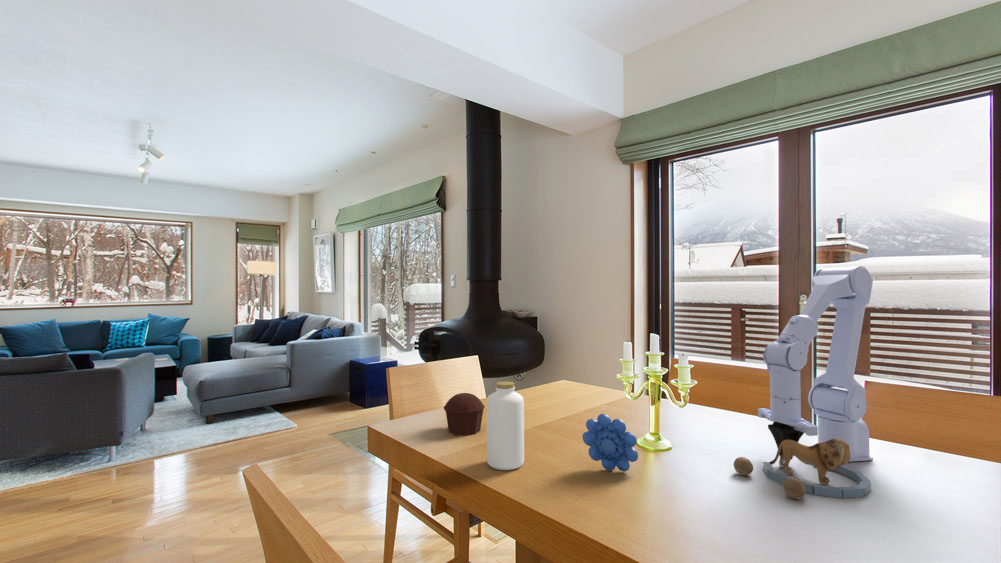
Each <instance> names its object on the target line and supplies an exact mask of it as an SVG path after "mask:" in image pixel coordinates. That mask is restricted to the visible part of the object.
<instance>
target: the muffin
mask: <svg viewBox="0 0 1001 563" xmlns="http://www.w3.org/2000/svg"><path fill="white" fill-rule="evenodd" d="M485 408H486V406H485V405H484V403H483V402H482V400H481V399H480V398H479V397H478V396H476V395H475V394H473V393H468V392H461V393H456V394H455V395H452V397H451V398H449V399H448V400H447V402H446V403H445V405H444V406H443V410H444V411H445V416H446V423H447V429H448V433H449V434H450V433H451V435H453V436H462V435H463V436H465V437H466V436H471V435H472V434H473V435H476V434H478V433H480V432H481V427H482V423H483V422H482V421H483V414H484V409H485ZM479 431H480V432H479ZM477 432H478V433H477Z"/></svg>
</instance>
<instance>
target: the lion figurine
mask: <svg viewBox="0 0 1001 563" xmlns="http://www.w3.org/2000/svg"><path fill="white" fill-rule="evenodd" d="M781 450H783V455H781V456H780V452H781ZM776 451H777V452H776V455H775V457H774V459H773V460H770V461H769V462H770V464H771V465H774V464H776V462H777V461H778V459H779V461H778V464H779V466H780V467H781V468H784V469H785V473H786V475H788V476H789V475H790V476H794V472H793V471H792V470H791V469H790V467H789V466H790V462H791V460H792V459H793V458H794V457H795V458H797V459H798V461H800V462H801V463H803V464H805V465H808V466H813V467H815V466H816V467H815V468H816V469H817V474H818V482H819V483H820V485H824V486H829V485H828V484H829V483H828V482H829V481H831V480H830V478H829V477H827V471H831V470H836V469H837V468H838V467H840V466H842V465H844V466H847V464H849V463H850V462H849V460H850V458H851V456H850V451H849V444H846V442H844V441H843V440H841V439H837V438H836V439H831V440H829V441H826V442H822V443H818V442H817V443H815V444H813V445H811V446H810V445H809V446H808V445H805V444H801V443H800V442H799V441H798V442H796V441H794V440H784V441H782V442H781V443H780V445H779V448H777V450H776ZM792 457H793V458H792ZM791 458H792V459H791Z"/></svg>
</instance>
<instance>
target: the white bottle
mask: <svg viewBox="0 0 1001 563" xmlns="http://www.w3.org/2000/svg"><path fill="white" fill-rule="evenodd" d="M495 385H496V386H495V391H494V392H492V393H491V394H489V395H488V396H487V399H486V463H487V464H488V465H489V467H491V468H493V469H495V470H500V471H512V470H513V471H514V470H515V469H518V468H521V467H522V465H523V464H524V462H525V401H524V397H523V396H522V394H520V393H518V392H517V391H515V389H516V386H515V382H514V381H498V382H496V384H495Z"/></svg>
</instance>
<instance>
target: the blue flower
mask: <svg viewBox="0 0 1001 563" xmlns="http://www.w3.org/2000/svg"><path fill="white" fill-rule="evenodd" d="M585 426H586V429H587V431H585V432H583V434H582V441H583V442H584V444H585V445H586V446H588V447H589V448H588V456H589V457H590V459H591V460H592V461H595V462H599V461H600V463H601V465H602V467H603V469H604V470H606V471H609V472H612V471H615V469H616V468H617V469H618V470H619V471H621V472H627V471H629V469H630V467H631V465H630V462H631V463H635V462H636V461H638V459H639V454H638V452H637V450H636V449H635V448H634V447H635V446H636V445H637V441H638V440H637V437H636V436H635V435H634V433H633V432H630V431H627V426H626V423H625V422H624V421H623V420H622V419H620V418H614V419H612V418H610V416H609V415H607V414H605V413H600V414H598V416H597V419H593V418H589V419H587V420H586V422H585Z"/></svg>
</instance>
